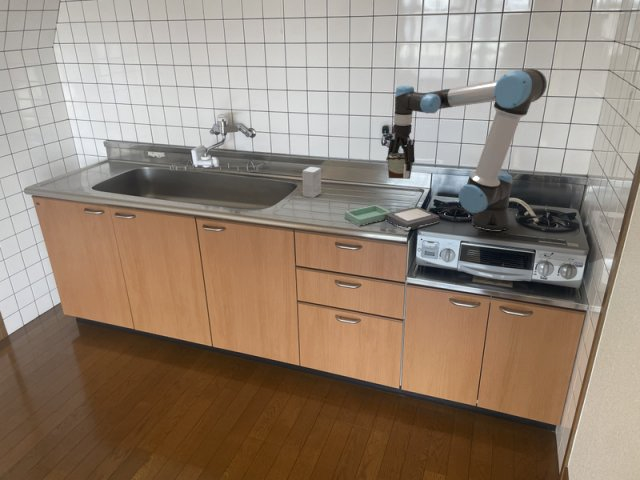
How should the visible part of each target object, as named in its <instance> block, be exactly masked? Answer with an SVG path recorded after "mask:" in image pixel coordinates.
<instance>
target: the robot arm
mask: <svg viewBox="0 0 640 480" xmlns="http://www.w3.org/2000/svg"><path fill="white" fill-rule="evenodd" d="M547 83H548V82H547V79H546V76H545V74H544V73H543V72H541V70H538V69H535V68H527V69H521V70H512V71H509V72H507V73H504V75H502V76H501V77H500V78H499V79H498V80H493V81H487V82H482V83H476V84H470V85H464V86H457V87H452V88H446V89H441V90H436V91H435V90H434V91H429V92H419V91H418V92H416V91H415V87H414V86H413V85H412V86H411V85H398V86H397V87H396V88H395V95H394V102H395V103H394V117H393V123H394V124H393V134H390V135H389V144H388V151H387V156H388V155H389V154H395V153H399V150H400V147H401V149H402V153H404V157H405V162H406V163H404V175H403V178H409V173H410V167H411V163H413V164H414V163H415V161H416V160H415V159H416V157H415V139H411V137H410V134H412V127H413V125H412V123H413V113H414V112H417V113H418V112H419V113H425V114H435V113H437V112H438V111H439V110H442V109H449V108H455V107H462V106H469V105H477V104H484V103H491V102H494V103H493V108H494V109H495V115H494V116H493V117H494V118H493V120H492V123H491V126H490V129H489V132H488V134H487V138H486V140H485V143H484V147H483V149H482V152H481V154H480V157H479V161H478V164H477V167H476V168H475V170H474V171H472V172H471V173H470V174H469V177H468V179H467V182H466V184H465V185H463V186H462V187H461V188H460V189H459V192H458V201H459V203H460V206H461V207H463V209H464V210H465V211H467V212H469V213H471V214H472V213H473V216H472V218H471V224H472V223H473V224H474V225H475V226H477V227H481V228H484V229H490V230H504V229H507V228H508V227H509V228H510V224H511V223H510V219H509V211H508V208H509V203H510V197H511V190H512V185H513V176H512V175H511V174H510V173H507V172H505V171H501V170H502V167H503V165H504V162H505V160H506V156H507V154H508V151H509V149H510V146H511V144H512V142H513V138H514V135H515V133H516V131H517V127H518V125H519V123H520V120H521V118H523V117H525V116H527V115H528V112H529V109H530V106H531V104H532V103H534V102H537V101H538V100H540V98H541V97H543V96H544V94H545V92H546V90H547V86H548V84H547ZM509 228H508V229H509ZM508 229H507V230H508Z"/></svg>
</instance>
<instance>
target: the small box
mask: <svg viewBox="0 0 640 480" xmlns="http://www.w3.org/2000/svg"><path fill="white" fill-rule="evenodd" d="M301 173H302V174H301V175H302V196H303V197H306V198H307V197H308V198H315V197H317V196H318V195H321V194H322V168H321V167H316V166H309V167H307V168H305V169H303V170H302V172H301Z"/></svg>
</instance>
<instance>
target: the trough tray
mask: <svg viewBox="0 0 640 480" xmlns="http://www.w3.org/2000/svg"><path fill="white" fill-rule="evenodd" d="M388 213H392V211H391V210H387V209H386V208H384V207H382V206H379V205H378V204H373V205H369V206H365V207H361V208H360V207H359V208H356V209H351V210H347V211H344V219H345V218H346V219H345V220H347V219H348V220H347V221H349V220H350V221H349V222H351V221H352V222H354V223H356V224H358V225H363V224H367V223H371V224H373V223H372V222H375V223H377V222H376V221H379V222H381V221H380V220H383V221H385V220H384V219H385V217H386V214H388ZM352 222H351V223H352ZM354 223H353V224H354ZM356 224H355V225H356ZM358 225H357V226H358ZM367 225H368V224H367ZM363 226H364V225H363Z"/></svg>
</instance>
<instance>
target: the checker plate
mask: <svg viewBox="0 0 640 480" xmlns="http://www.w3.org/2000/svg"><path fill="white" fill-rule="evenodd" d="M394 216H396V217H398V218H400V219H402V220H404V221H406V222H411V221H414V220H418V219H422V218H426V217H430V216H431V215H430V214H428V213H426V212H424V211H422V210H419V209H413V210H408V211H404V212H400V213H396V214H394Z"/></svg>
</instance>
